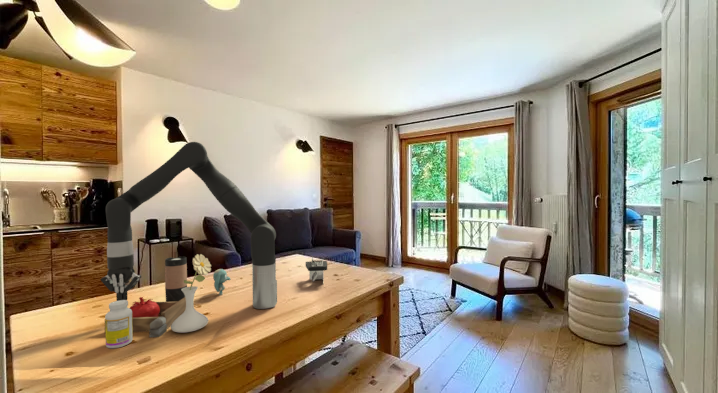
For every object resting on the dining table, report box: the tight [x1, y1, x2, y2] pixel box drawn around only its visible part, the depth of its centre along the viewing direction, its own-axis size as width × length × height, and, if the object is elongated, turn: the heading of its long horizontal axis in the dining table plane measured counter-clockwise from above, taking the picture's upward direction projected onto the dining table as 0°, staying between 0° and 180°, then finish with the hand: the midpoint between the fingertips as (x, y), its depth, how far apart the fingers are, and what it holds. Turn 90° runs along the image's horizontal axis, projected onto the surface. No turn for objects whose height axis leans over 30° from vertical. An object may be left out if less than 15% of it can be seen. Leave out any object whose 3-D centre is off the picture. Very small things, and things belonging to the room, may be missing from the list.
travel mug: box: [164, 256, 188, 302], centre depth 127 cm, size 8×8×20 cm
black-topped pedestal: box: [305, 256, 328, 285], centre depth 159 cm, size 28×26×13 cm
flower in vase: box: [170, 253, 212, 334], centre depth 108 cm, size 13×11×25 cm
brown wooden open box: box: [132, 297, 186, 338], centre depth 111 cm, size 20×21×6 cm
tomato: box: [129, 296, 160, 318], centre depth 113 cm, size 10×10×9 cm
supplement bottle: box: [104, 299, 134, 349], centre depth 96 cm, size 7×7×13 cm
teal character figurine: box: [212, 268, 231, 296], centre depth 142 cm, size 11×7×12 cm
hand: (122, 302), depth 112 cm, fingers closed
